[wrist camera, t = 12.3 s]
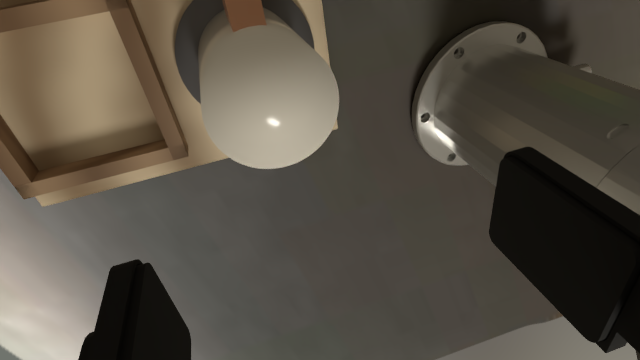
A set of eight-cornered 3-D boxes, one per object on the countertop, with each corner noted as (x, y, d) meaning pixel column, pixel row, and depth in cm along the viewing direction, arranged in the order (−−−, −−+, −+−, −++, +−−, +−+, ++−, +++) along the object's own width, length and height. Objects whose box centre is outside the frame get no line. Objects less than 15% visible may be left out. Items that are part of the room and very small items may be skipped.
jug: (304, 92, 27) (345, 149, 20) (215, 114, 26) (225, 183, 19) (278, -50, 22) (322, -43, 15) (168, -29, 21) (156, -10, 14)
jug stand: (306, -86, 23) (317, -88, 21) (334, 123, 31) (344, 136, 29) (-104, -14, 19) (-139, -8, 17) (46, 198, 27) (35, 219, 25)
